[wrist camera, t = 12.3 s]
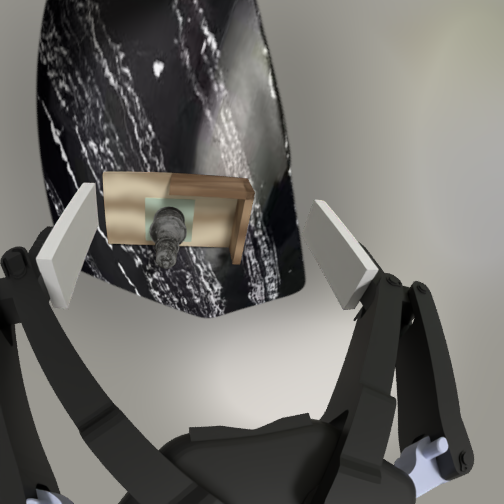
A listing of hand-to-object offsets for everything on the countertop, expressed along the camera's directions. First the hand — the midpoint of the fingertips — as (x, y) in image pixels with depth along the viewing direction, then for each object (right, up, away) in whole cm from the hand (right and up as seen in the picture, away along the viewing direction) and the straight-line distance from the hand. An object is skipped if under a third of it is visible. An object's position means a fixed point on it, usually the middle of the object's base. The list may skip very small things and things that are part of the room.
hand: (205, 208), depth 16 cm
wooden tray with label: (-10, +4, +28) cm, 30 cm away
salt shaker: (-11, +3, +28) cm, 30 cm away
